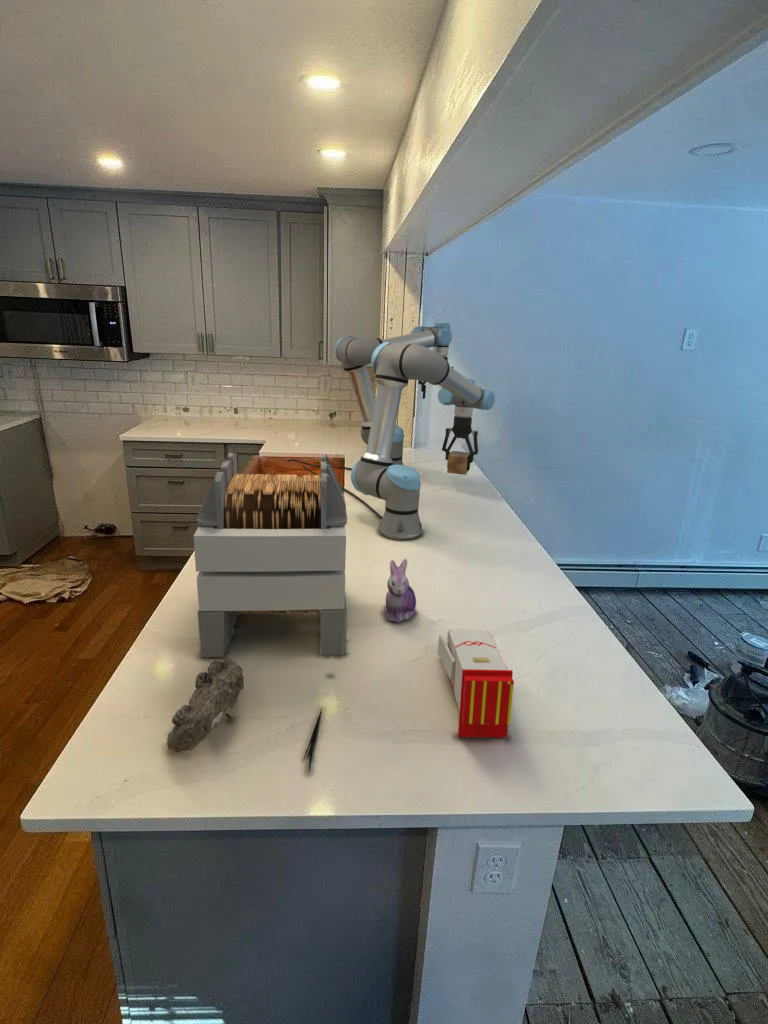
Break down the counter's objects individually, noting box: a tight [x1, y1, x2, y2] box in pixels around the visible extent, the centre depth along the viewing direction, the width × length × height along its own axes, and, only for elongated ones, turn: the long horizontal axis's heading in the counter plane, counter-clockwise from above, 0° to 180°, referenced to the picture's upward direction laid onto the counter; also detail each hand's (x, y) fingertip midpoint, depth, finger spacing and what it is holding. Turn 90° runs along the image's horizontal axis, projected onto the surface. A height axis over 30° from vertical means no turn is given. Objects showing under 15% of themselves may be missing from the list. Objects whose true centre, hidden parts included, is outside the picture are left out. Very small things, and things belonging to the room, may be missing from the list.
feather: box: [301, 673, 332, 771], centre depth 108 cm, size 2×28×2 cm
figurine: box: [384, 558, 417, 623], centre depth 145 cm, size 9×10×15 cm
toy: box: [437, 628, 515, 738], centre depth 117 cm, size 12×13×30 cm
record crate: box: [193, 452, 348, 659], centre depth 136 cm, size 34×33×41 cm
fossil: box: [166, 658, 245, 754], centre depth 106 cm, size 22×10×15 cm
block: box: [446, 450, 470, 476], centre depth 245 cm, size 8×9×8 cm
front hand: (458, 468), depth 246 cm, fingers closed on block, 8 cm apart
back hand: (437, 399), depth 285 cm, fingers open, 13 cm apart
